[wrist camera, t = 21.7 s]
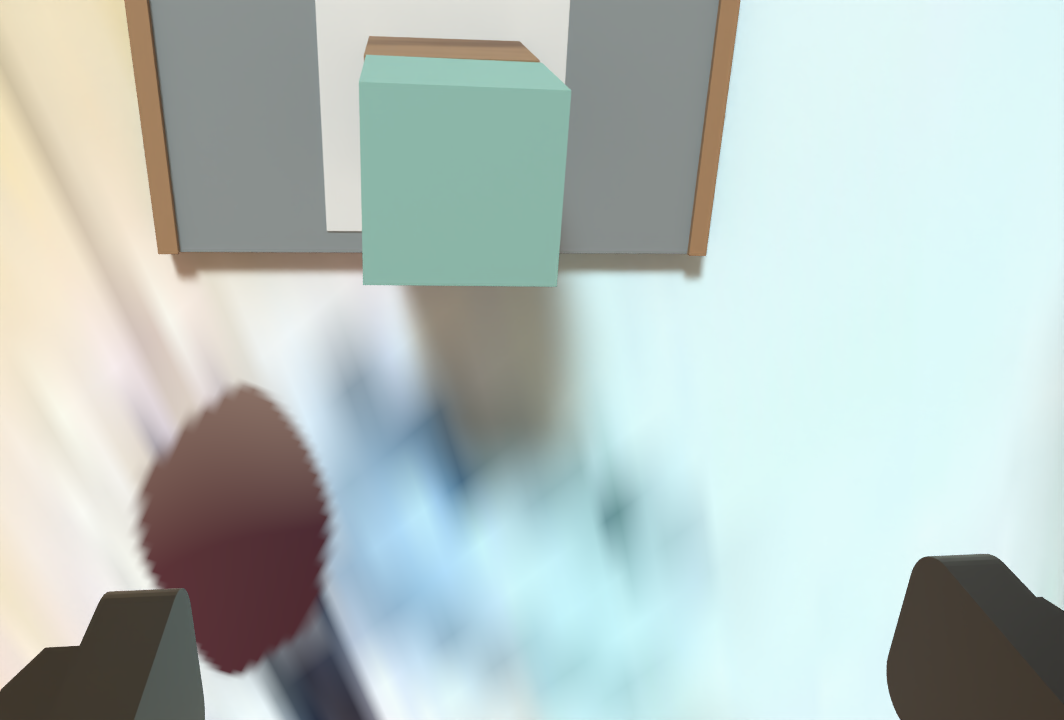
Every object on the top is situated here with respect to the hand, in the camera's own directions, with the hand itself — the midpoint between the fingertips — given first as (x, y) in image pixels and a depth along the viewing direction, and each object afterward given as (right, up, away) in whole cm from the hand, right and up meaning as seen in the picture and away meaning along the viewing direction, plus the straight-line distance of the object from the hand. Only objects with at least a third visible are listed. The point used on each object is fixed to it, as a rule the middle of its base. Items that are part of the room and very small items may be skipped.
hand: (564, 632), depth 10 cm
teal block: (-3, +11, +22) cm, 25 cm away
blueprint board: (-4, +14, +29) cm, 32 cm away
